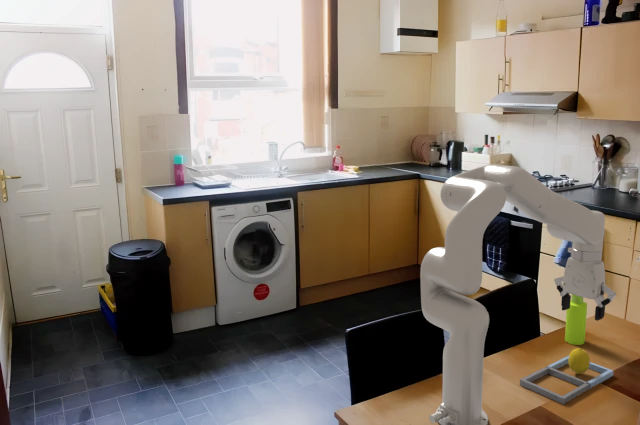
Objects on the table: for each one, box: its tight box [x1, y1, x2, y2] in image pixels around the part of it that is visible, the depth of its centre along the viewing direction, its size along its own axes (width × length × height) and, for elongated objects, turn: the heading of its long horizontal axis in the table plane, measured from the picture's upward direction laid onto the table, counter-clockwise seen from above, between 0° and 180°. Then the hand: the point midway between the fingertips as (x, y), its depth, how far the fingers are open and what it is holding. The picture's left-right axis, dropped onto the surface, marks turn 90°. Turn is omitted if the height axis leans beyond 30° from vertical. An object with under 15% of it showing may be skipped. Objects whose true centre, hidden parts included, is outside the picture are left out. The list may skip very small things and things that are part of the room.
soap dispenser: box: [564, 294, 588, 346], centre depth 179 cm, size 6×7×20 cm
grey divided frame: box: [519, 355, 614, 405], centre depth 156 cm, size 25×13×2 cm, turn 126°
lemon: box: [568, 347, 591, 375], centre depth 159 cm, size 6×6×8 cm
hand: (581, 314), depth 156 cm, fingers open, 9 cm apart
